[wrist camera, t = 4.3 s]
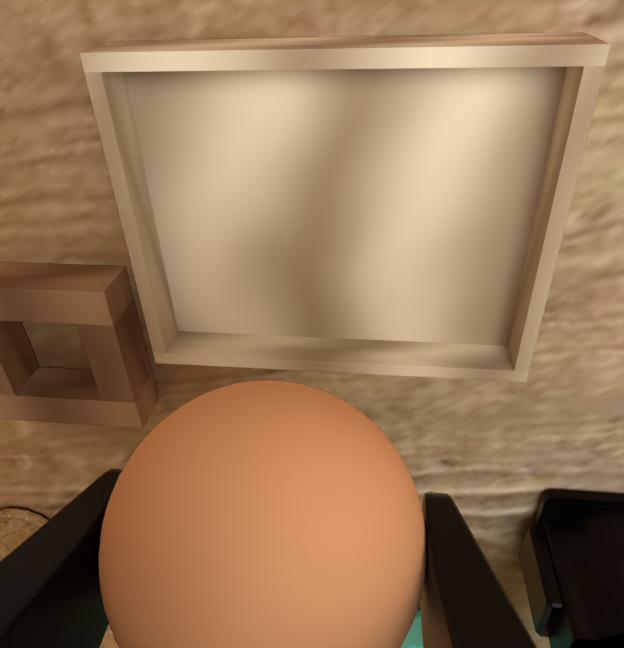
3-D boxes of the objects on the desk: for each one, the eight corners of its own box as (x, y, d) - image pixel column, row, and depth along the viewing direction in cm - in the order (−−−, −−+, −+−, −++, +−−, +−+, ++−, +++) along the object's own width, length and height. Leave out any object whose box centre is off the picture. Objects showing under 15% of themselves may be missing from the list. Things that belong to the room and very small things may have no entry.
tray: (583, 32, 15) (610, 43, 14) (514, 344, 22) (526, 382, 20) (113, 41, 17) (79, 52, 15) (174, 329, 23) (155, 362, 21)
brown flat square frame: (125, 266, 22) (103, 291, 20) (158, 397, 26) (142, 428, 24) (-37, 261, 23) (-70, 285, 21) (19, 389, 27) (-5, 418, 25)
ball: (430, 326, 9) (462, 635, 5) (411, 515, 12) (421, 814, 8) (142, 314, 10) (-42, 583, 6) (188, 498, 12) (89, 766, 8)
